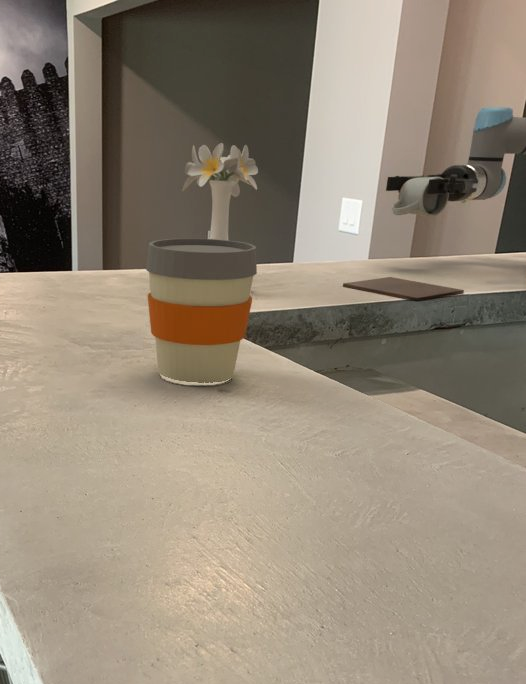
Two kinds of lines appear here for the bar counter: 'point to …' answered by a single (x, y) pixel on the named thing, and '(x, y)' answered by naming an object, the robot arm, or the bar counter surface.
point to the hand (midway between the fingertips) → (408, 185)
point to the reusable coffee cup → (199, 305)
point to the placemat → (403, 288)
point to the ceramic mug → (419, 199)
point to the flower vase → (221, 180)
